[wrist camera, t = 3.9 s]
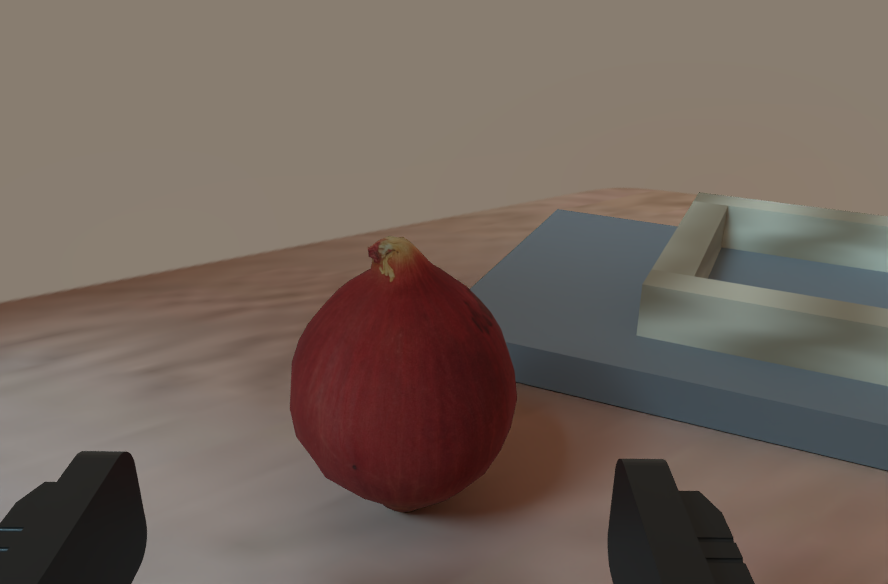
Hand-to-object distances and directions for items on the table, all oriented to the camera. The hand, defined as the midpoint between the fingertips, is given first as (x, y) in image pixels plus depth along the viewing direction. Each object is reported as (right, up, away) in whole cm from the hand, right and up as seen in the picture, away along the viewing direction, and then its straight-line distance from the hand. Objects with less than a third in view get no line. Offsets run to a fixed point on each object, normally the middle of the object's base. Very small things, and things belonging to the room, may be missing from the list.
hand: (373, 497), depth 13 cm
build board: (+13, +2, +19) cm, 23 cm away
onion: (0, -3, +9) cm, 10 cm away
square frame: (+16, +3, +18) cm, 24 cm away
